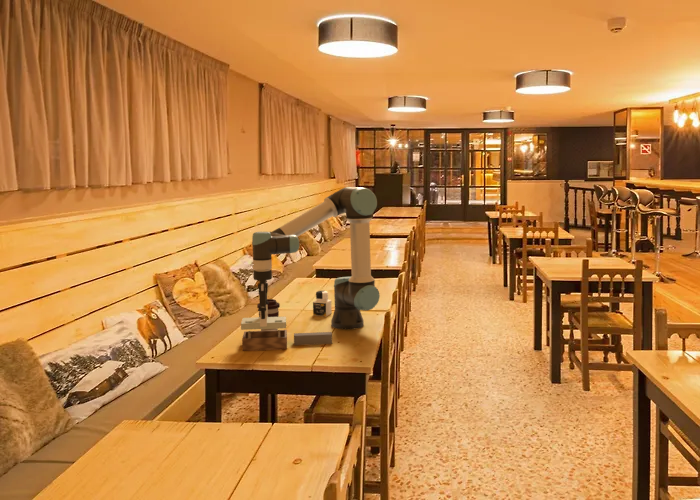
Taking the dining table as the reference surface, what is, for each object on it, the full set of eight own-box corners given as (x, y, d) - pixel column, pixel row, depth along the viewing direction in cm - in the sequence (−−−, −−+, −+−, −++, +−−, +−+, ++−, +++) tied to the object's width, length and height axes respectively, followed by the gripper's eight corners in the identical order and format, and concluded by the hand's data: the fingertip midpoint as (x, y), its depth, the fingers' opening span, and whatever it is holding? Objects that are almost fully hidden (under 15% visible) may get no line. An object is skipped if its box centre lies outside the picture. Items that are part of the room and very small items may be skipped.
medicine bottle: (313, 315, 320) (312, 292, 319) (319, 312, 327) (318, 289, 325) (326, 316, 317) (325, 293, 316) (331, 313, 324) (331, 290, 322)
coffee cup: (276, 336, 283) (275, 303, 281) (255, 335, 285) (253, 302, 283) (283, 330, 292) (282, 298, 290) (262, 329, 294) (261, 297, 292)
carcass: (287, 341, 275) (286, 323, 274) (286, 349, 263) (286, 330, 262) (244, 342, 273) (243, 324, 272) (242, 351, 261) (241, 332, 260)
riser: (331, 341, 274) (331, 331, 274) (332, 343, 270) (332, 334, 270) (294, 342, 273) (293, 333, 272) (294, 345, 269) (293, 335, 268)
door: (286, 322, 270) (285, 314, 270) (285, 328, 260) (285, 319, 260) (242, 323, 268) (242, 315, 268) (241, 329, 259) (240, 321, 258)
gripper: (254, 265, 272) (256, 316, 275) (251, 274, 250) (253, 330, 253) (272, 265, 273) (274, 316, 276) (270, 274, 250) (272, 329, 253)
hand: (264, 323), depth 264 cm, fingers closed on door, 10 cm apart
